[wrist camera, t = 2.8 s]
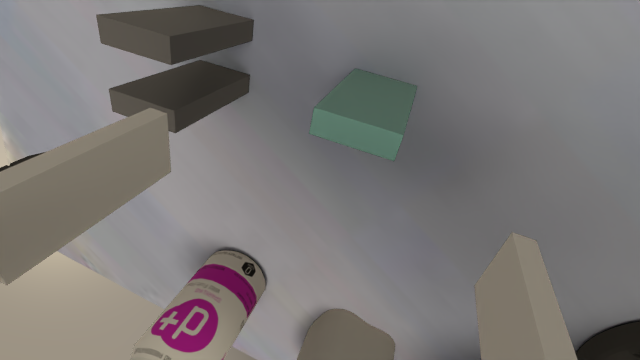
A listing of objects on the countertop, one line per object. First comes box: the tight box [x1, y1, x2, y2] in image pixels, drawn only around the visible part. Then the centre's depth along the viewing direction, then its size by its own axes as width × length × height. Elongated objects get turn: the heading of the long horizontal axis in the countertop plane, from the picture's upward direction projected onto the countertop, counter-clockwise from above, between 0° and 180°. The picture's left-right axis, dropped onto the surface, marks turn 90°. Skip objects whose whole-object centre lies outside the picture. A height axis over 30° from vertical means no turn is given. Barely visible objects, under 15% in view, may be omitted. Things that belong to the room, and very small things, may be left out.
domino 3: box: [309, 69, 417, 161], centre depth 22 cm, size 2×5×10 cm, turn 79°
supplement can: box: [130, 250, 265, 360], centre depth 37 cm, size 8×8×15 cm
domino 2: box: [109, 60, 250, 133], centre depth 26 cm, size 2×5×10 cm, turn 79°
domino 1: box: [96, 5, 254, 65], centre depth 24 cm, size 2×5×10 cm, turn 79°
